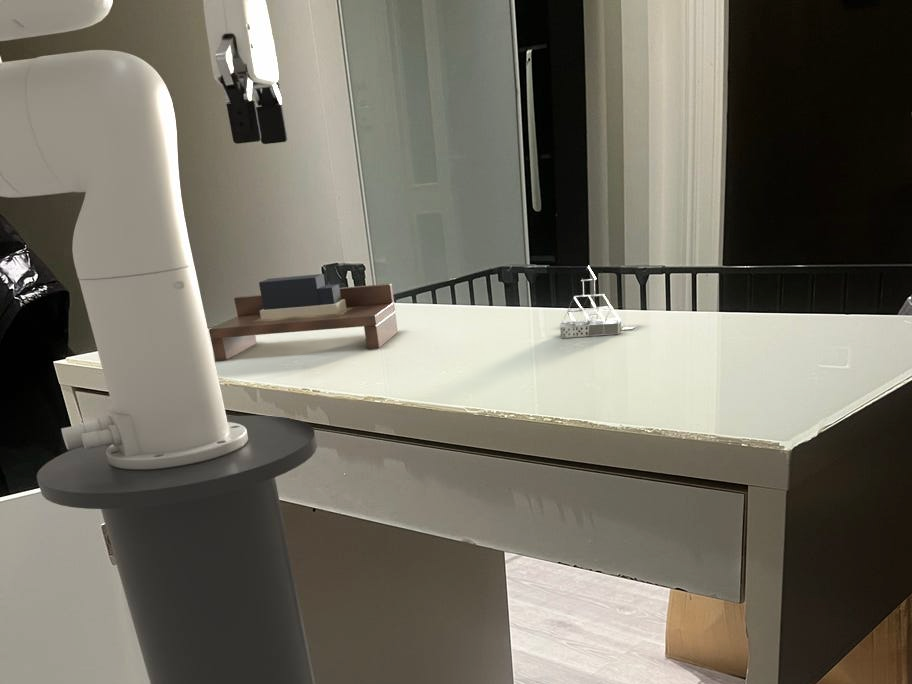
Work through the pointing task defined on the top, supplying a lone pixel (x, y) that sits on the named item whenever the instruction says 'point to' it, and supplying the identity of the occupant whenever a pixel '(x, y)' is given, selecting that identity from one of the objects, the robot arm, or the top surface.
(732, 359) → the top surface
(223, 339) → the wooden bench
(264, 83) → the robot arm
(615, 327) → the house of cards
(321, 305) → the stepped dark grey block
